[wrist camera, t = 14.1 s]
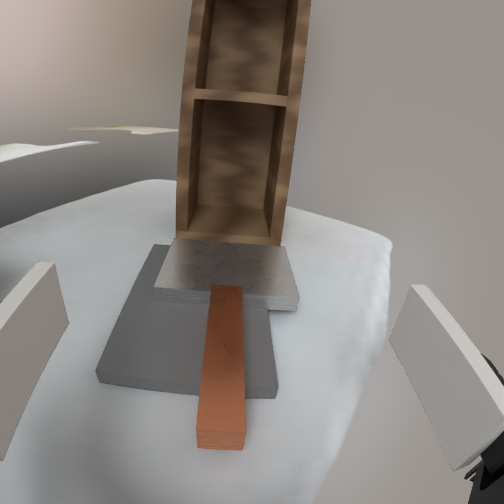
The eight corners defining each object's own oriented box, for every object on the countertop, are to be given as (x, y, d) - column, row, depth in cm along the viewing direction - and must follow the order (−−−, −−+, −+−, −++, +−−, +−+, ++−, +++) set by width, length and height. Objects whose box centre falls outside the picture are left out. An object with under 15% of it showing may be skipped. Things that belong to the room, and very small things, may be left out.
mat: (99, 381, 15) (95, 370, 15) (154, 253, 30) (154, 244, 29) (275, 398, 16) (278, 387, 16) (258, 261, 31) (259, 251, 30)
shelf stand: (175, 239, 33) (199, -42, 20) (188, 208, 42) (208, -12, 29) (279, 247, 34) (313, -31, 21) (270, 214, 43) (296, -3, 29)
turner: (112, 435, 12) (103, 414, 11) (174, 250, 29) (173, 232, 28) (328, 447, 12) (339, 428, 12) (282, 258, 29) (285, 240, 29)
